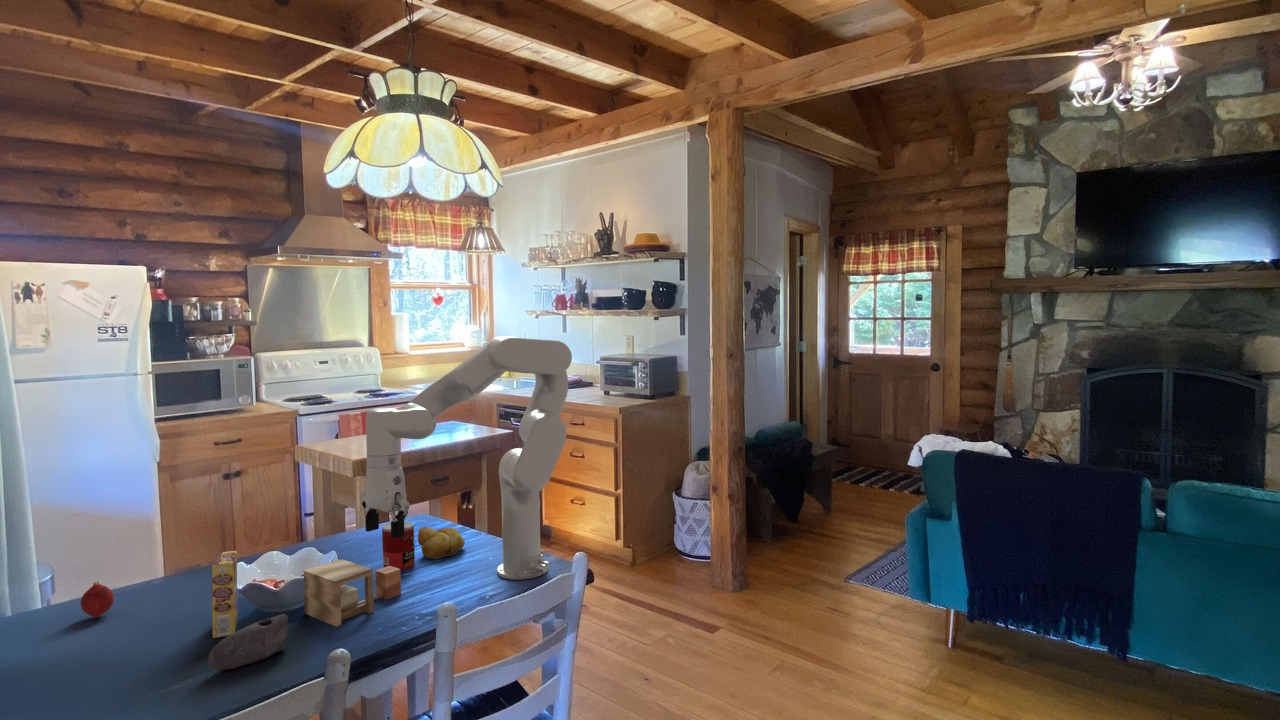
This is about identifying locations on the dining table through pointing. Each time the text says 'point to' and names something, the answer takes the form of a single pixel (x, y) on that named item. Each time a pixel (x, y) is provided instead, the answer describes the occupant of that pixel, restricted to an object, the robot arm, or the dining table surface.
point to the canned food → (398, 547)
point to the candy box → (224, 594)
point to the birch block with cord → (385, 588)
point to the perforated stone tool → (250, 644)
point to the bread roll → (439, 542)
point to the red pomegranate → (97, 600)
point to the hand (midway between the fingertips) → (384, 533)
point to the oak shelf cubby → (335, 590)
